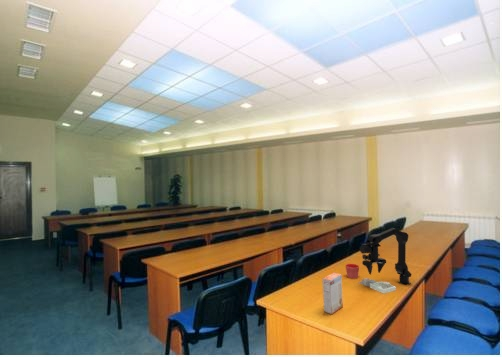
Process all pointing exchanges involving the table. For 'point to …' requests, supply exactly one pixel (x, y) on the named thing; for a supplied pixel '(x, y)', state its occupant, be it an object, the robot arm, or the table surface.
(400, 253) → the robot arm
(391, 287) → the tray
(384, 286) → the light grey cube
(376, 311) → the table surface
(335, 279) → the cracker box
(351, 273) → the flower pot
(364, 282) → the grey cube
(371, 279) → the lid board
